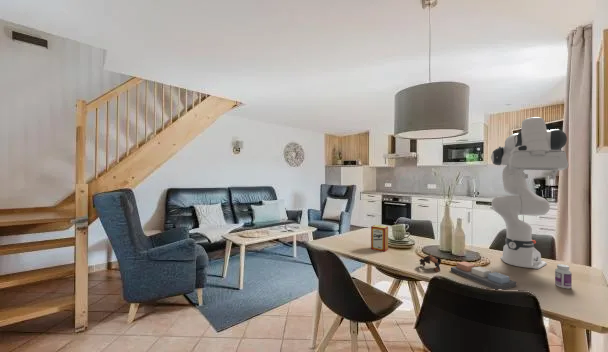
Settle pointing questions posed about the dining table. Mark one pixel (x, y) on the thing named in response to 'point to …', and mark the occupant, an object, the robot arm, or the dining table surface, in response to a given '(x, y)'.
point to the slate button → (498, 278)
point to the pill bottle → (563, 276)
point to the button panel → (483, 279)
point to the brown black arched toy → (433, 259)
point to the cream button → (481, 271)
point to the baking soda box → (379, 238)
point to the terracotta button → (465, 266)
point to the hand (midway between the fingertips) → (538, 178)
